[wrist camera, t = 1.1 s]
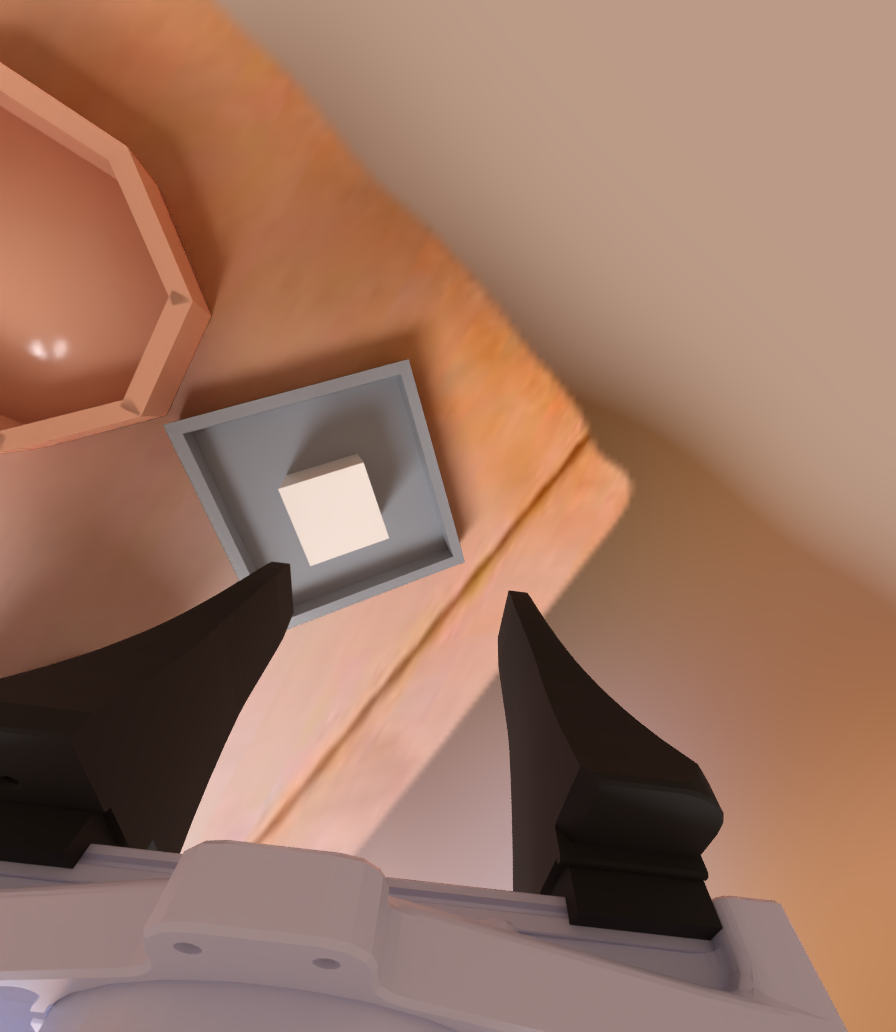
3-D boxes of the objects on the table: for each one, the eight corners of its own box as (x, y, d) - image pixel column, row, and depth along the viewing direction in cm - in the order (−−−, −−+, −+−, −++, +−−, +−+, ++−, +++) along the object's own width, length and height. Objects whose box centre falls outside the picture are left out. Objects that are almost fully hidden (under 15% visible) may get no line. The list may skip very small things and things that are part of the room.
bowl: (-48, 471, 18) (-114, 482, 16) (-287, 122, 14) (-435, 53, 11) (244, 394, 21) (231, 392, 18) (113, 79, 17) (70, 13, 14)
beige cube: (312, 541, 23) (310, 566, 20) (286, 475, 22) (278, 489, 18) (379, 518, 24) (389, 538, 20) (357, 453, 23) (363, 462, 19)
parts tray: (271, 619, 24) (266, 637, 22) (177, 423, 20) (162, 424, 19) (455, 551, 27) (464, 561, 25) (401, 363, 23) (408, 359, 21)
